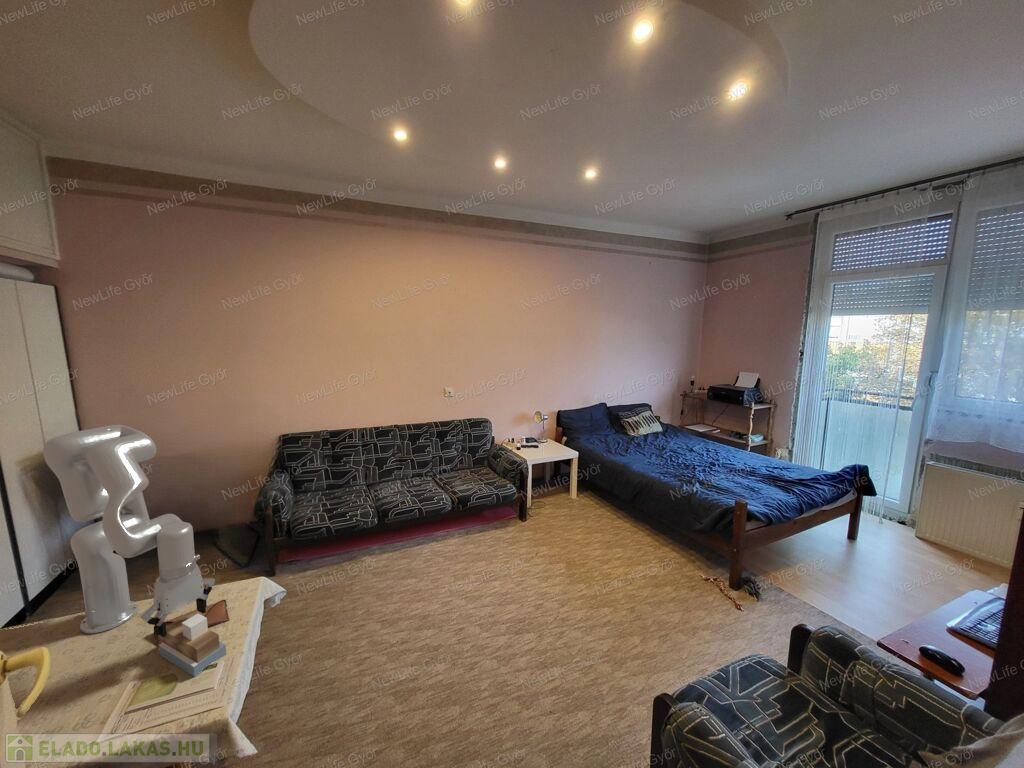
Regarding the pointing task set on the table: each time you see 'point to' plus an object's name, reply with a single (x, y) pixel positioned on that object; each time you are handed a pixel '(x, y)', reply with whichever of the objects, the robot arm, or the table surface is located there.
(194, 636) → the small white cube
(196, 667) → the block
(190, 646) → the curved wooden block
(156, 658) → the table surface
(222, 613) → the sunglasses case
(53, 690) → the table surface
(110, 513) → the robot arm
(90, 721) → the table surface
